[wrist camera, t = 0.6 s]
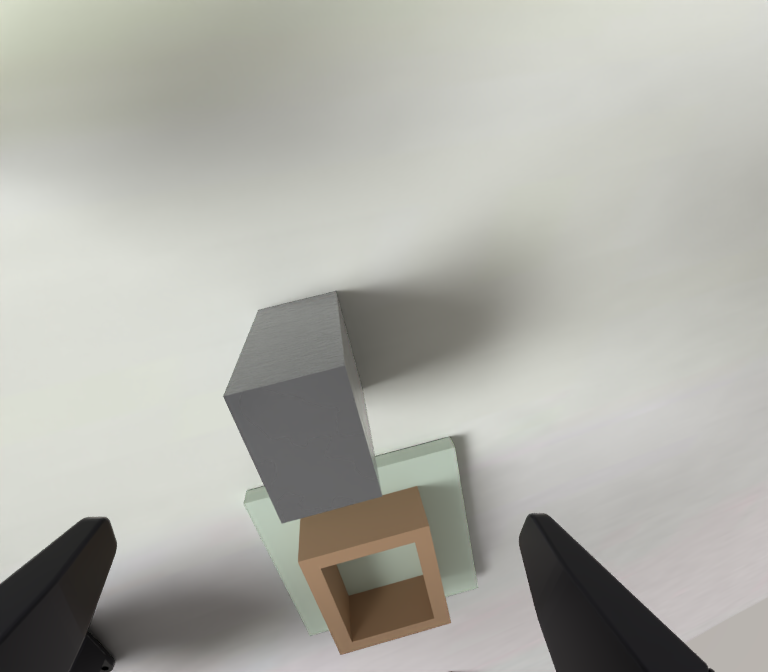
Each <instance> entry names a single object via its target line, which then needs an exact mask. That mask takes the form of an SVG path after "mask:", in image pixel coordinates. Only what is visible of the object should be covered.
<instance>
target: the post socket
mask: <svg viewBox="0 0 768 672" xmlns="http://www.w3.org/2000/svg"><path fill="white" fill-rule="evenodd" d="M375 459H376V464H377V470H378V475H379V481H380V486H381V491H382V497H379V498H375V499H371V500H368V501H364V502H360V503H356V504H353V505H349V506H345V507H342V508H338V509H334V510H331V511H327V512H323V513H320V514H316V515H312V516H309V517H305V518H301V519H297V520H294V521H290V522H286V523H283V524H282V523H281V521H280V519H279V517H278V515H277V512H276V510H275V508H274V506H273V504H272V502H271V499H270V497H269V495H268V493H267V491H266V488H265V486H263V487H260V488H256V489H252V490H248V491H246V495H245V500H244V506H245V508H246V510H247V512H248V514H249V516H250V518H251V520H252V522H253V524H254V526H255V528H256V530H257V532H258V533H259V535H260V537H261V539H262V541H263V543H264V545H265V547H266V549H267V551H268V553H269V555H270V557H271V559H272V561H273V563H274V565H275V567H276V569H277V571H278V573H279V575H280V577H281V579H282V581H283V583H284V585H285V587H286V589H287V591H288V593H289V595H290V597H291V599H292V601H293V603H294V605H295V607H296V609H297V611H298V613H299V615H300V617H301V619H302V621H303V623H304V625H305V627H306V629H307V631H308V633H309V635H310V636H312V635H315V634H319V633H322V632H326V631H330V633H331V635H332V637H333V639H334V642H335V644H336V646H337V648H338V650H339V652H340V655H342V654H346V653H349V652H353V651H356V650H359V649H363V648H366V647H370V646H373V645H377V644H380V643H384V642H387V641H390V640H394V639H397V638H401V637H404V636H408V635H411V634H415V633H418V632H421V631H425V630H428V629H432V628H435V627H439V626H442V625H446V624H449V623H451V620H450V616H449V612H448V607H447V603H446V598H445V597H448V596H452V595H455V594H458V593H462V592H465V591H469V590H472V589H476V588H478V585H477V579H476V573H475V567H474V561H473V555H472V549H471V543H470V537H469V530H468V524H467V518H466V512H465V506H464V500H463V494H462V488H461V482H460V476H459V469H458V463H457V457H456V451H455V446H454V444H453V442H452V440H451V438H450V437H447V438H443V439H440V440H436V441H432V442H428V443H425V444H421V445H417V446H413V447H410V448H406V449H402V450H398V451H395V452H391V453H387V454H383V455H380V456H376V457H375Z"/></svg>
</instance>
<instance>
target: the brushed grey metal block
mask: <svg viewBox="0 0 768 672" xmlns="http://www.w3.org/2000/svg"><path fill="white" fill-rule="evenodd" d="M223 397H224V399H225V401H226V403H227V406H228V408H229V410H230V412H231V414H232V417H233V419H234V421H235V423H236V425H237V427H238V430H239V432H240V434H241V436H242V438H243V441H244V443H245V445H246V447H247V449H248V451H249V454H250V456H251V458H252V460H253V462H254V465H255V467H256V469H257V471H258V473H259V475H260V478H261V480H262V482H263V484H264V486H265V488H266V491H267V493H268V495H269V497H270V499H271V502H272V504H273V506H274V508H275V510H276V512H277V515H278V517H279V519H280V521H281V523H282V524H283V523H286V522H290V521H294V520H297V519H301V518H305V517H309V516H312V515H316V514H320V513H323V512H327V511H331V510H334V509H338V508H342V507H345V506H349V505H353V504H356V503H360V502H364V501H368V500H371V499H375V498H379V497H382V491H381V486H380V481H379V475H378V470H377V464H376V459H375V453H374V448H373V443H372V437H371V432H370V426H369V421H368V415H367V410H366V405H365V399H364V394H363V388H362V385H361V381H360V377H359V374H358V370H357V366H356V363H355V359H354V355H353V352H352V348H351V344H350V341H349V337H348V333H347V330H346V326H345V322H344V319H343V315H342V311H341V308H340V304H339V300H338V297H337V293H336V291H334V292H330V293H326V294H322V295H318V296H314V297H310V298H306V299H302V300H297V301H293V302H289V303H285V304H281V305H277V306H273V307H269V308H265V309H261V310H258V312H257V314H256V317H255V319H254V322H253V324H252V327H251V329H250V332H249V334H248V337H247V339H246V342H245V344H244V347H243V349H242V352H241V354H240V356H239V359H238V361H237V364H236V366H235V369H234V371H233V374H232V376H231V379H230V381H229V384H228V386H227V389H226V391H225V394H224V396H223Z"/></svg>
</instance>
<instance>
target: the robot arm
mask: <svg viewBox="0 0 768 672" xmlns="http://www.w3.org/2000/svg"><path fill="white" fill-rule="evenodd" d="M519 546H520V550H521V554H522V558H523V562H524V566H525V570H526V574H527V578H528V582H529V586H530V590H531V594H532V598H533V602H534V606H535V610H536V613H537V617H538V620H539V623H540V626H541V630H542V632H543V635H544V638H545V641H546V644H547V647H548V649H549V652H550V655H551V658H552V661H553V664H554V667H555V669H556V672H714V670H712V669H711V668H708V666H707V664H706V663H705V662H704V661H703V660H701V658H699V656H697V655H696V654H695V653H694V652H693V651H692V650H691V649H690V648H689V647H688V646H687V645H686V644H685V643H684V642H683V641H682V640H680V639H679V638H678V637H677V636H676V635H675V634H674V633H673V632H672V631H671V630H670V629H669V628H668V627H667V626H666V625H665V624H664V623H662V622H661V621H660V620H659V619H658V618H657V617H656V616H655V615H654V614H653V613H652V612H651V611H650V610H649V609H648V608H647V607H646V606H644V605H643V604H642V603H641V602H640V601H639V600H638V599H637V598H636V597H635V596H634V595H633V594H632V593H631V592H630V591H629V590H627V589H626V588H625V587H624V586H623V585H622V584H621V583H620V582H619V581H618V580H617V579H616V578H615V577H614V576H613V575H612V574H611V573H609V572H608V571H607V570H606V569H605V568H604V567H603V566H602V565H601V564H600V563H599V562H598V561H597V560H596V559H595V558H594V557H593V556H591V555H590V554H589V553H588V552H587V551H586V550H585V549H584V548H583V547H582V546H581V545H580V544H579V543H578V542H577V541H576V540H574V539H573V538H572V537H571V536H570V535H569V534H568V533H567V532H566V531H565V530H564V529H563V528H562V527H561V526H560V525H559V524H558V523H556V522H555V521H554V520H553V519H552V518H551V517H550V516H549V515H547V514H544V513H531V514H529V515H528V516H527V518H526V520H525V523H524V525H523V528H522V530H521V533H520V536H519ZM116 549H117V542H116V538H115V535H114V532H113V529H112V526H111V523H110V520H109V519H108V518H107V517H86V518H84V519H82V520H80V521H79V522H78V523H76V524H75V525H74V526H72V527H71V528H70V529H69V530H67V531H66V532H65V533H64V534H62V535H61V536H60V537H59V538H57V539H56V540H55V541H54V542H52V543H51V544H50V545H49V546H47V547H46V548H45V549H44V550H42V551H41V552H40V553H38V554H37V555H36V556H35V557H33V558H32V559H31V560H30V561H28V562H27V563H26V564H25V565H23V566H22V567H21V568H20V569H18V570H17V571H16V572H15V573H13V574H12V575H11V576H10V577H8V578H7V579H6V580H5V581H3V582H2V583H1V584H0V672H110V671H112V670H113V667H114V665H115V660H114V659H113V658H112V657H111V655H110V654H109V653H108V652H107V651H106V650H105V649H104V648H103V647H102V646H101V645H100V644H99V642H98V641H97V640H96V639H95V638H94V637H93V636H92V635H91V634H90V633H89V632H88V631H87V630H88V628H89V625H90V622H91V620H92V617H93V614H94V611H95V609H96V606H97V603H98V600H99V598H100V595H101V592H102V590H103V587H104V584H105V581H106V579H107V576H108V573H109V570H110V568H111V565H112V562H113V559H114V557H115V554H116Z"/></svg>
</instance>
